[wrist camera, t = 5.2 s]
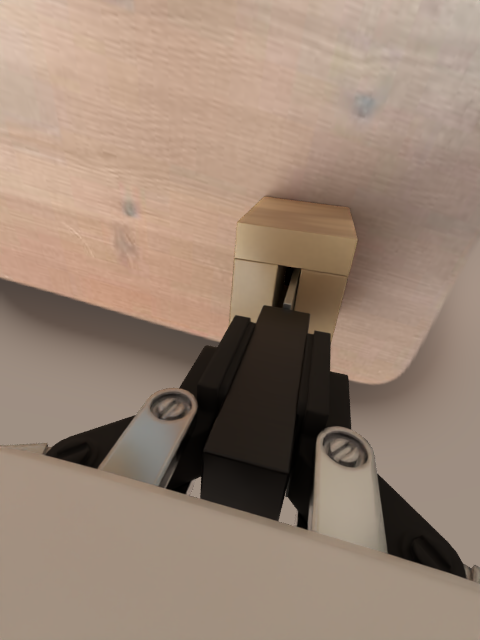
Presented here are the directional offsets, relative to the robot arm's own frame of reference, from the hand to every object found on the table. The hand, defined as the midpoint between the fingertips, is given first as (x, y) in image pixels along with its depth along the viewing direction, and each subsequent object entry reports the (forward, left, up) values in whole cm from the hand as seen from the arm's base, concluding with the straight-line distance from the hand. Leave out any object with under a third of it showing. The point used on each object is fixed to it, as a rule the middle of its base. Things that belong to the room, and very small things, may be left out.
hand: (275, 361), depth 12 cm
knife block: (0, 0, -11) cm, 11 cm away
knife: (0, 0, -11) cm, 11 cm away
